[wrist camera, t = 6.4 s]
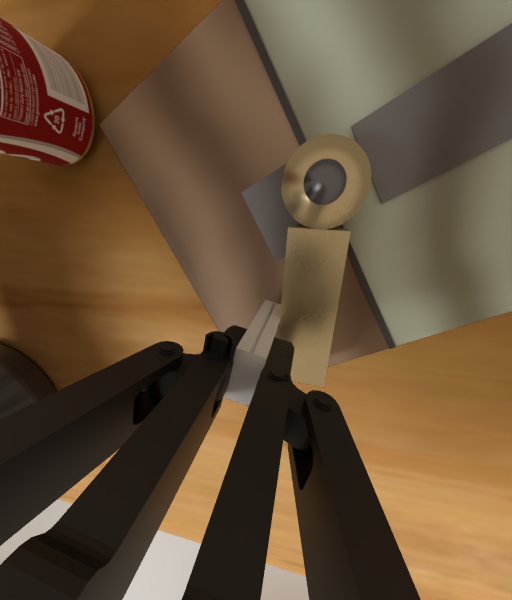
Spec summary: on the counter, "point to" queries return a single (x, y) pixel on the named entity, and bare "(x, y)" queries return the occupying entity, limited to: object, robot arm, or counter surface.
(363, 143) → the latch board
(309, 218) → the swing bar
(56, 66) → the soda can
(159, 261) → the counter surface
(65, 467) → the robot arm
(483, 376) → the counter surface
